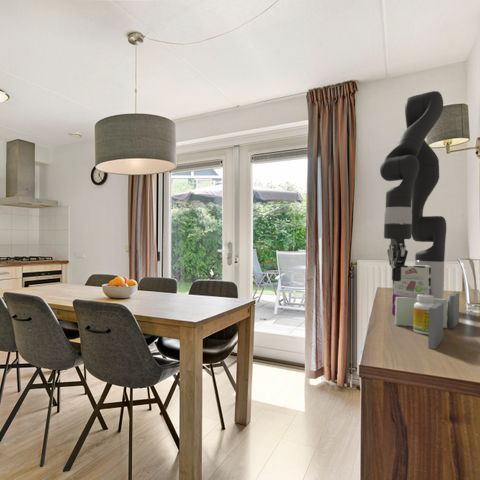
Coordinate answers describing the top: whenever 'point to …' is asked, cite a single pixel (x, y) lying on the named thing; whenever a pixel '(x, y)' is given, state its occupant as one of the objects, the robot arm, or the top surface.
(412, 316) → the door
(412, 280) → the candy bar box
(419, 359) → the top surface
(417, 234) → the robot arm
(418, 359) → the top surface
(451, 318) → the door frame
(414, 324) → the supplement bottle
